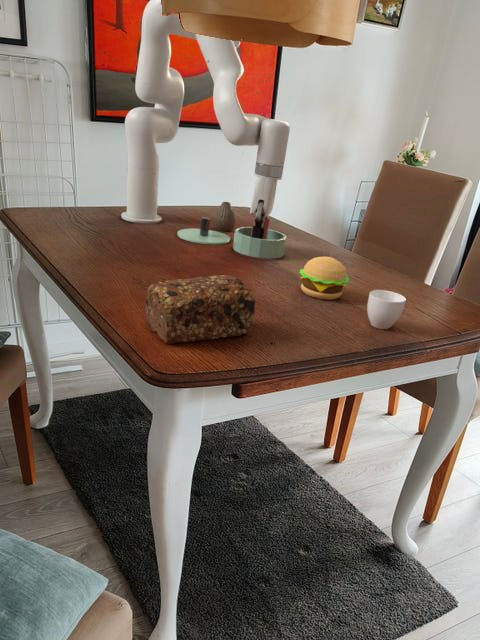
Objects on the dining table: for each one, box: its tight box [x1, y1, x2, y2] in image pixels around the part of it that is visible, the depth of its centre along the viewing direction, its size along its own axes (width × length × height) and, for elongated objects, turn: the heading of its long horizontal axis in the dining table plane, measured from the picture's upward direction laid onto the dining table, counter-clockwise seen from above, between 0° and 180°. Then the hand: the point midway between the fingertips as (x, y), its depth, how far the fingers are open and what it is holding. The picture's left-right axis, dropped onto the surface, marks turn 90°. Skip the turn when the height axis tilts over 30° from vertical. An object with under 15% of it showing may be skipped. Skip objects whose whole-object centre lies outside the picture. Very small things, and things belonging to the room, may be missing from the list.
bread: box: [145, 274, 257, 345], centre depth 109 cm, size 19×11×10 cm, turn 119°
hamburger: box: [299, 256, 350, 301], centre depth 139 cm, size 12×12×9 cm
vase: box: [213, 201, 236, 233], centre depth 183 cm, size 7×7×9 cm
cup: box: [366, 289, 407, 330], centre depth 126 cm, size 8×10×7 cm
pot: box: [232, 226, 288, 260], centre depth 166 cm, size 15×15×6 cm
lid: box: [176, 216, 231, 246], centre depth 171 cm, size 16×16×6 cm
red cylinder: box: [251, 215, 270, 239], centre depth 164 cm, size 4×4×7 cm
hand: (258, 238), depth 166 cm, fingers closed on red cylinder, 4 cm apart
